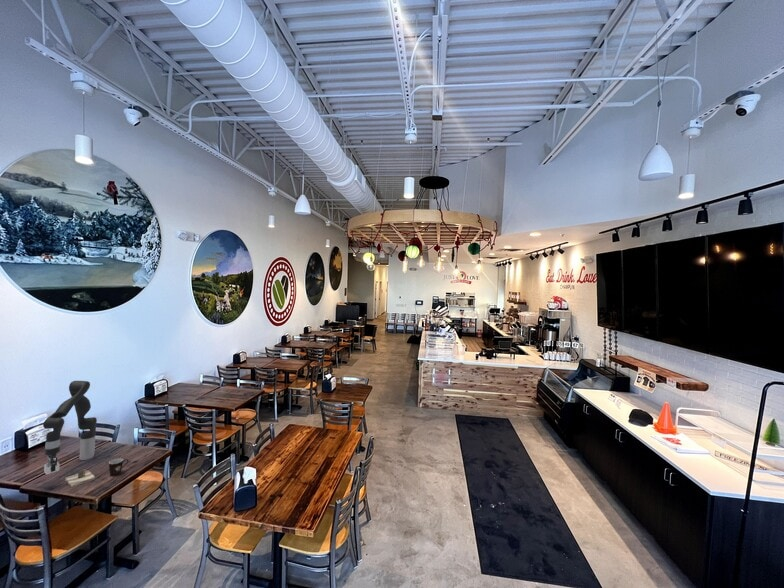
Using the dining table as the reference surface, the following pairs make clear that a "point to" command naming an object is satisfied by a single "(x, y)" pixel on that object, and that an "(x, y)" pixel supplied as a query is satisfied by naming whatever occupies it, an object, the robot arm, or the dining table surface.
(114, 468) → the coffee mug
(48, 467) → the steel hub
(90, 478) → the post plate
